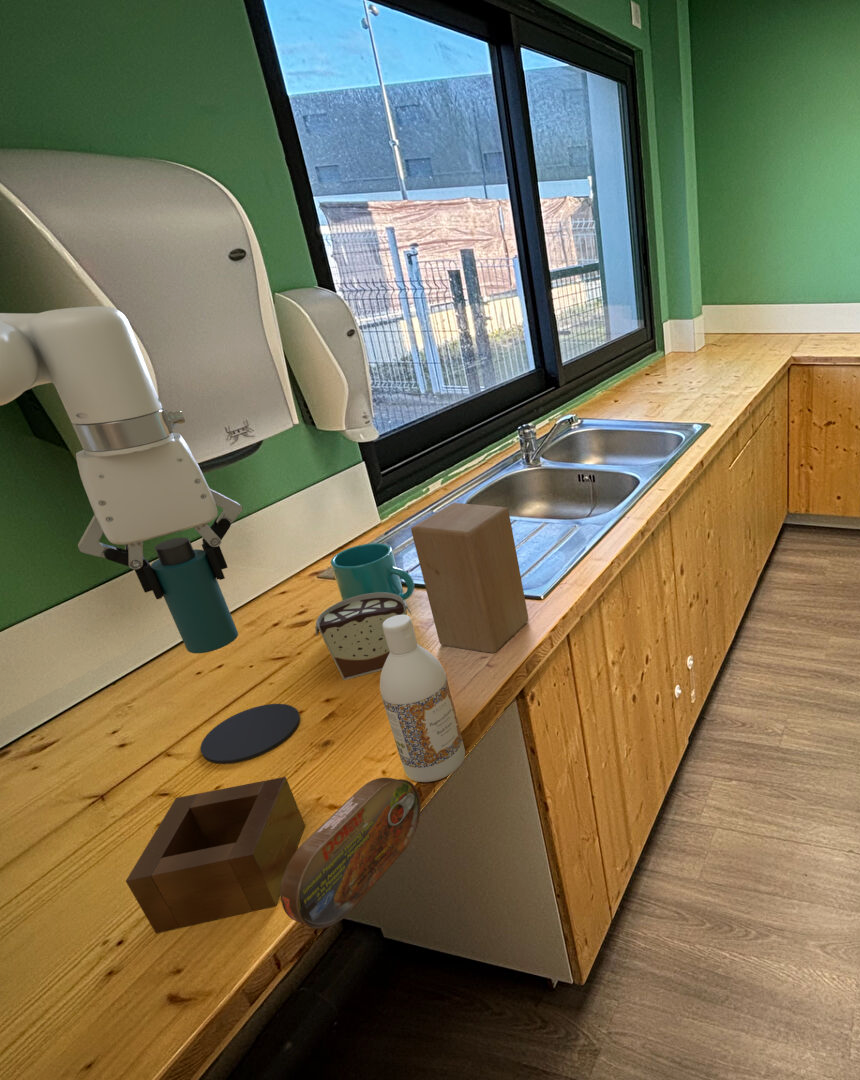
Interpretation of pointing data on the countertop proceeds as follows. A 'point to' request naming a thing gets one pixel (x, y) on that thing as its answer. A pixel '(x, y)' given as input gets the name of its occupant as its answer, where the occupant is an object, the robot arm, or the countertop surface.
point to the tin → (350, 852)
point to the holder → (218, 855)
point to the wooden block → (471, 575)
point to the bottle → (193, 596)
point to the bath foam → (419, 705)
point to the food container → (359, 631)
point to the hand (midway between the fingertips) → (188, 583)
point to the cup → (369, 572)
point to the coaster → (250, 733)
